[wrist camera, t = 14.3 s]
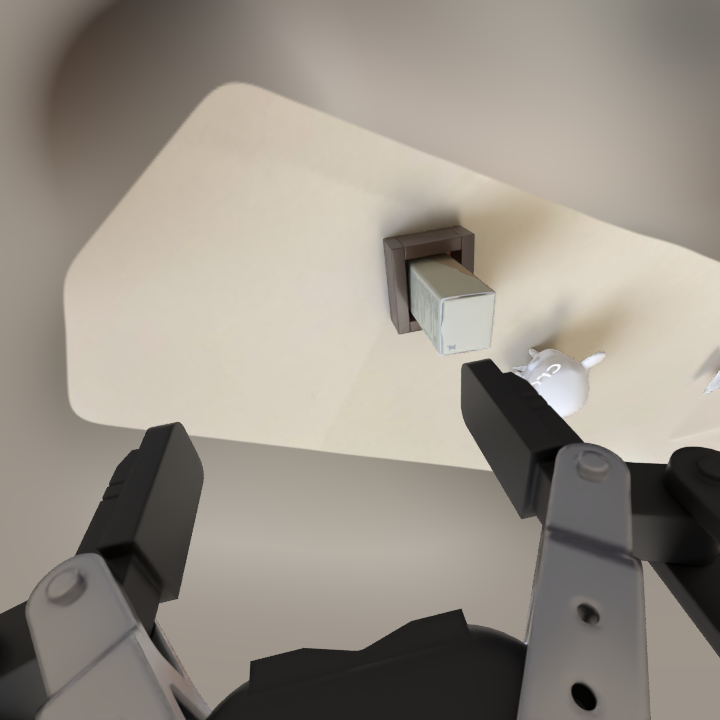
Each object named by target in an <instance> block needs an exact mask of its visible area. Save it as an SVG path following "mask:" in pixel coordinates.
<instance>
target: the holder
mask: <svg viewBox="0 0 720 720" xmlns="http://www.w3.org/2000/svg"><path fill="white" fill-rule="evenodd" d="M474 236H475V235H474V234H473V233H472V232H470V231H469V230H467V229H465V228H464V227H462V226H461V225H459V226H453V227H448V228H442V229H437V230H431V231H426V232H420V233H415V234H409V235H404V236H399V237H393V238H388V239H383V243H384V253H385V263H386V273H387V283H388V293H389V303H390V313H391V320H392V322H393V324H394V326H395V328H396V330H397V332H398V333H399V334H404V333H409V332H415V331H420V330H423V329H422V328H421V326H420V325H419V323H418V322H417V320H416V319H415V317H414V316H413V314H412V313H411V311H410V310H409V306H408V292H407V278H406V264H405V260H408V259H414V258H419V257H424V256H430V255H435V254H440V253H447V254H448V255H450V256H451V257H452V258H453V259H455V260H456V261H457V262H458V263H460V264H461V265H462V266H463V267H465V268H466V269H467V270H468V271H470V272H471V273H472V274H473V275H474Z"/></svg>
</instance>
